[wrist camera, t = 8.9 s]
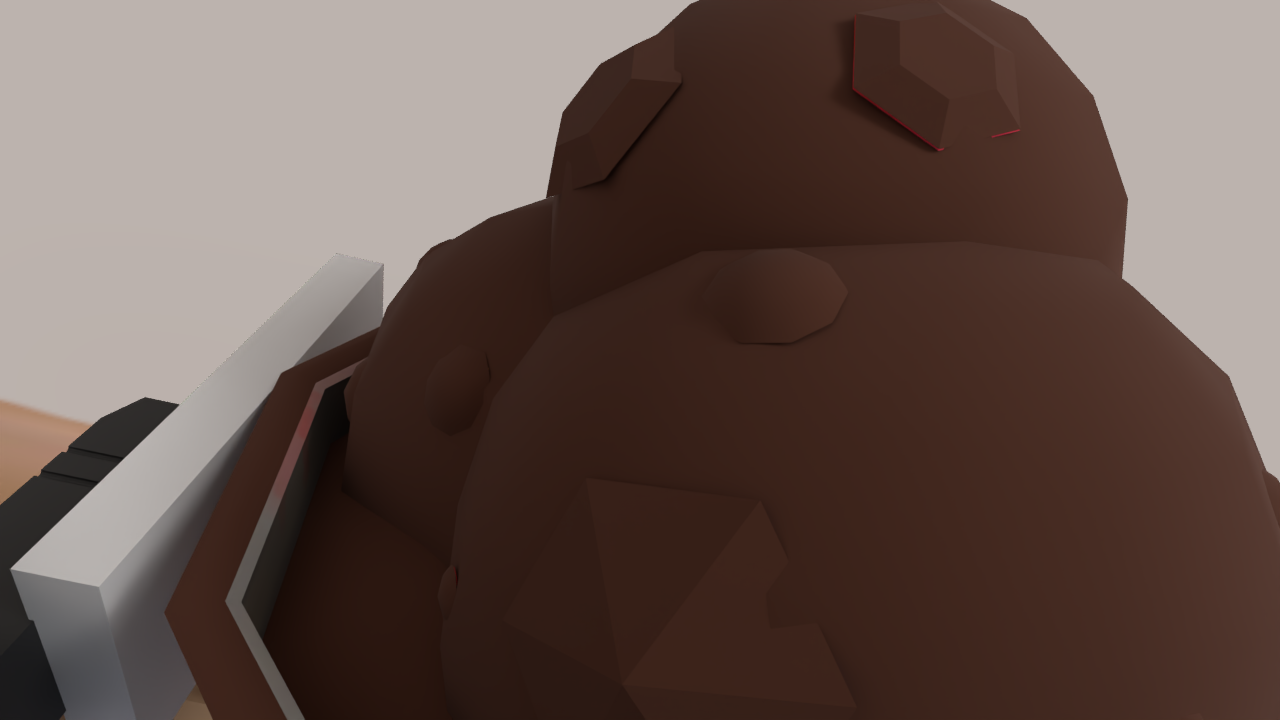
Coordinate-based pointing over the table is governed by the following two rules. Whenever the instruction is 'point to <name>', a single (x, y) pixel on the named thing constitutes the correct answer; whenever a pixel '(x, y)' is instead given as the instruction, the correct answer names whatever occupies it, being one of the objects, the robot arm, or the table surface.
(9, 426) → the table surface
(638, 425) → the ice cream bowl
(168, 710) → the robot arm
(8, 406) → the table surface
